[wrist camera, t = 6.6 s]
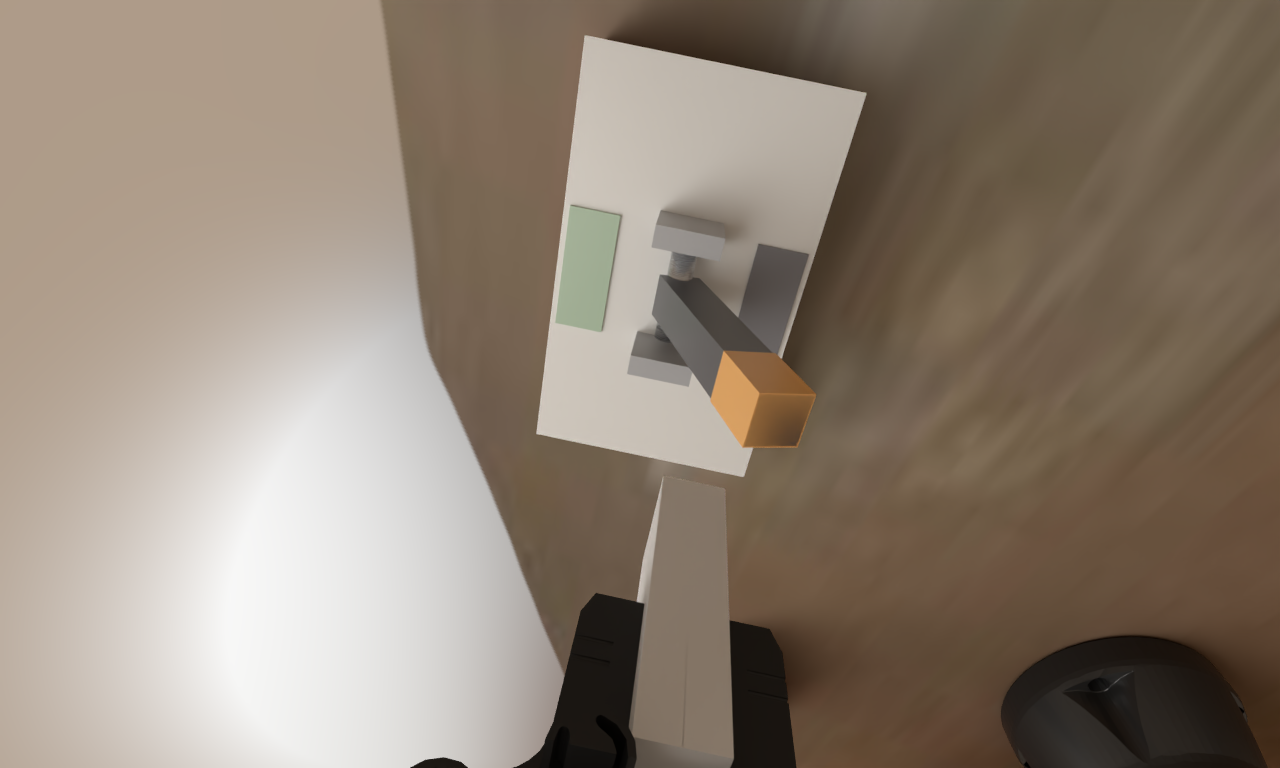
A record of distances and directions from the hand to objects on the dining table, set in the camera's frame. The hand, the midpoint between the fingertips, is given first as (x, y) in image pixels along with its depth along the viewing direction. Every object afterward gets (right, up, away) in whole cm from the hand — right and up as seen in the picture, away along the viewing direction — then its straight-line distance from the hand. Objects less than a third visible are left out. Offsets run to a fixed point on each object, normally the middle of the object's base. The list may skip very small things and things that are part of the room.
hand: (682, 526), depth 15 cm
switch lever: (+1, +8, +14) cm, 16 cm away
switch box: (+1, +10, +20) cm, 22 cm away
